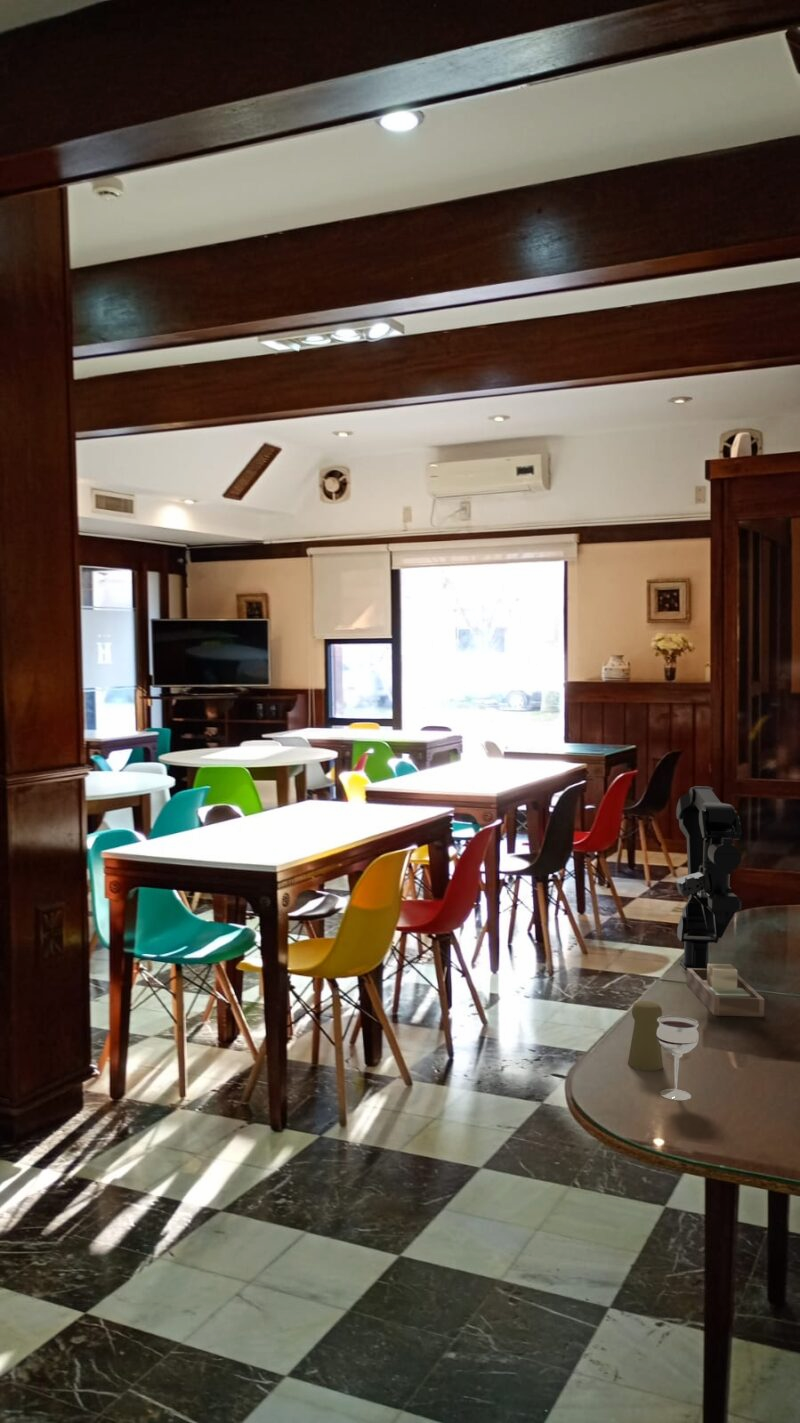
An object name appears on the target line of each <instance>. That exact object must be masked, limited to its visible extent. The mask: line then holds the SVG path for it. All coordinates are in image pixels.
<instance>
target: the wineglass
mask: <svg viewBox="0 0 800 1423" xmlns="http://www.w3.org/2000/svg"><path fill="white" fill-rule="evenodd" d="M657 1021H658V1023H659V1026H658V1027H657V1030H656V1033H657V1034H656V1036H657V1039H658V1042H659V1043H660V1044H661V1048H663V1049H664V1050H665V1051H667V1052H669V1053H670V1054H671V1055H672V1056H673V1058H674V1065H673V1068H674V1069H673V1070H674V1071H673V1072H674V1073H673V1074H674V1082H673V1083H674V1085H673V1086H674V1088H666V1089H663V1090H660V1092H659V1095H660V1096H662V1097H663V1098H665V1099H668V1100H672V1101H688V1100H690V1099H691V1098H692V1095H691V1093H689V1092H687V1091H685V1090H681V1089H678V1081H679V1080H678V1078H679V1077H678V1076H679V1065H680V1058H681V1057H682V1056H683V1054H687V1053H690V1052H691V1051H693V1049H694V1048H695V1047H697V1045H698V1042H699V1039H700V1034H699V1030H698V1027H699V1025H700V1024H699V1021H698V1020H696V1019H694V1018H691V1017H687V1016H683V1015H662V1017H659V1018H658V1019H657Z"/></svg>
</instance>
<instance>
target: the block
mask: <svg viewBox="0 0 800 1423" xmlns="http://www.w3.org/2000/svg"><path fill="white" fill-rule="evenodd" d="M738 972H739V971H738V969H736V967H734V966H733V965H732V964H731V963H709V964H707V983H708V984H709V985H710V986H711V987H712V988H713V989H737V974H738Z"/></svg>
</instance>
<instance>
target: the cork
mask: <svg viewBox="0 0 800 1423" xmlns="http://www.w3.org/2000/svg"><path fill="white" fill-rule="evenodd" d="M662 1008H663V1007H662V1006H661V1005H660V1004H659V1003H657V1002H655V1001H650V1000H639V1001H637V1002H635V1003H633V1005H632V1009H631V1016H632V1018H633V1019H634V1025H633V1030H632V1036H631V1037H632V1038H631V1040H630V1042H631V1043H630V1048H629V1054H628V1059H627V1065H628V1066H629V1067H631V1068H633V1069H635V1070H640V1071H649V1072H653V1071H659V1070H661V1069H663V1068H664V1064H663V1053H662V1046H661V1044H660V1043H659V1042H658V1039H657V1036H656V1034H657V1033H656V1030H657V1027H658V1026H659V1023H658V1021H657V1019H658V1018H659V1017H662V1016H663V1010H662Z"/></svg>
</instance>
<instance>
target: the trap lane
mask: <svg viewBox="0 0 800 1423" xmlns="http://www.w3.org/2000/svg"><path fill="white" fill-rule="evenodd" d="M685 975H686V978H685V979H686V980H685V984H686V985H687V986H688V988H689V989H690V991H692V993H694V994H695V995H696V996H697V998H698V999H699V1000H700V1001H701V1003H703V1005H704V1006H705V1007H706V1008H707V1009H708V1010H709V1012H711V1014H712V1015H713V1016H719V1017H720V1016H721V1017H722V1016H725V1017H726V1016H727V1017H728V1016H729V1017H730V1016H731V1017H765V998H764V997H763V996H761V995H760V994H759V993H758V992H757V991H756V990H755V988H753V987H752V986H751V985H749V983H747V981H745V980H744V979H743V977H741V976H740V975H739V974H738V973H737V989H713V988H712V987H711V986H710V985H709V984H708V983H707V969H702V968H687V969H686V974H685Z"/></svg>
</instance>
